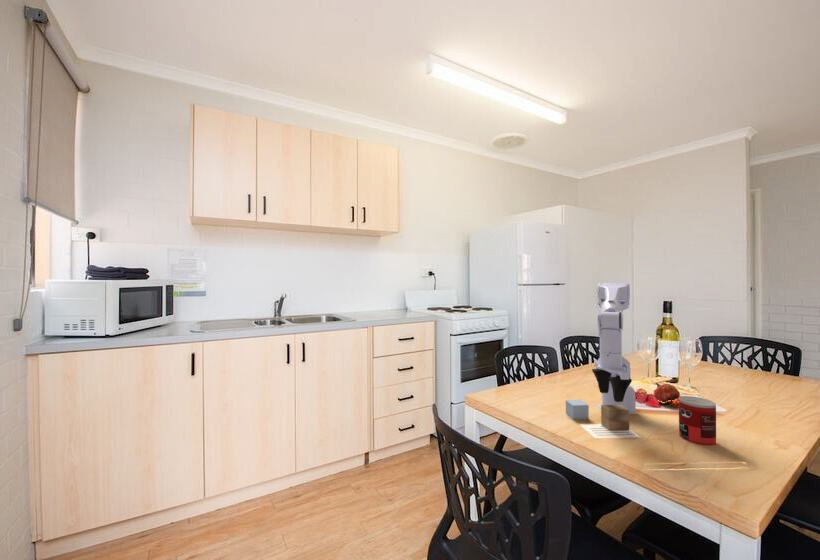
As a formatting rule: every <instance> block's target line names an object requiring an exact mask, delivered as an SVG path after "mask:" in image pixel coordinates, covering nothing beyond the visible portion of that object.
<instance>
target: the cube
mask: <svg viewBox="0 0 820 560" xmlns="http://www.w3.org/2000/svg"><path fill="white" fill-rule="evenodd" d="M589 407H590V405H589V404H588V403H586V402H584V401H583V400H582V399H565V414H566V415H567V416H568V417H569V418H571V419H572V420H589V418H590V416H589V414H590V413H589Z"/></svg>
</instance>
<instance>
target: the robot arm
mask: <svg viewBox="0 0 820 560" xmlns="http://www.w3.org/2000/svg"><path fill="white" fill-rule="evenodd" d="M630 290H631V288H630V283H629V282H626V283H622V282H621V283H620V282H618V283H613V282H611V283H604V282H603V283H602V282H599V283H598V285H597V300H598V305H599V308H600V312H598V313H597V329H598V336H599V358H598V359H597V360H594V367H595V368H592V370H591V371H592V373H593V375H594V377H595V379H596V381H597V385H598V389H599V392H600V393H601V404H596V407H598V408H599V409H601V405H622V406H624V407H626V408H627V409H629V415H632V414H633V415H634V414H638V412H636V409H637V407H636V392H635V389H634V387H633V386H632V385H631V383H633V382H632V381H633V378H631V363H630V361H629V360H628V359H627V358H625V357H624V356H622V355H623V351H622V349H623V347H622V346H623V345H622V344H623V343H622V336H623V335H622V332H623V331H624V330H623V329H624V314H623V312H624V311H625V310H627V309H629V308H630V307H629V306H630V299H631V298H630V296H631V293H630Z"/></svg>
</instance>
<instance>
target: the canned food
mask: <svg viewBox="0 0 820 560" xmlns="http://www.w3.org/2000/svg"><path fill="white" fill-rule="evenodd" d="M678 435H679V437H681V439H683V440H686V441H688V442H691V443H693V444H698V445H703V446H714V445H716V444H717V404H716V403H715V402H714V401H712V400H710V399H707V398H703V397H700V396H692V395H684V396H683V395H682V396H679V398H678Z"/></svg>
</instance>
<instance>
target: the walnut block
mask: <svg viewBox="0 0 820 560" xmlns="http://www.w3.org/2000/svg"><path fill="white" fill-rule="evenodd" d="M600 405H601V408H600V413H601V415H600V420H601V421H600V422H601V423H600V424H601V425H602V426H604V427H605V428H606V429H608V430H629V429H630V414H629V409H627V408H626V407H624V406H622V405H602V404H600Z"/></svg>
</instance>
